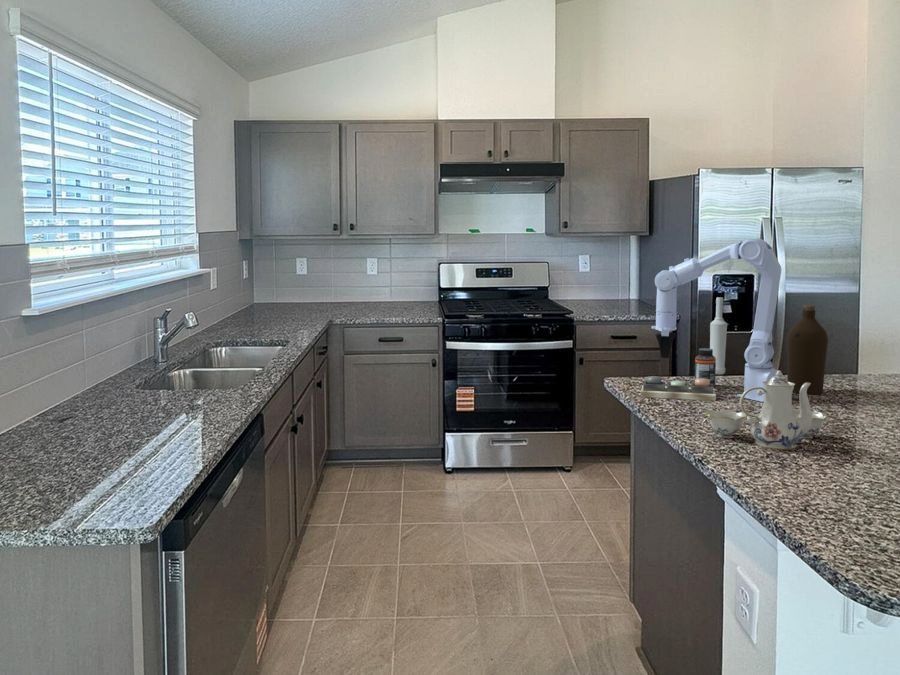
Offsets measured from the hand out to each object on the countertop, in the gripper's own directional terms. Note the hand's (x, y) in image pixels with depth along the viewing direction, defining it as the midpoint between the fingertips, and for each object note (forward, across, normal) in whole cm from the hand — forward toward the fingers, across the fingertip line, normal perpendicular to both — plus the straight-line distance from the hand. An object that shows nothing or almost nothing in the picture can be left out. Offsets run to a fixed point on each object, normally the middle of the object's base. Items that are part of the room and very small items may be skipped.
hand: (664, 357), depth 227 cm
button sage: (+8, +9, +4) cm, 12 cm away
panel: (+9, +9, +4) cm, 13 cm away
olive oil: (+10, -6, +39) cm, 41 cm away
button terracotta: (+6, +9, +10) cm, 15 cm away
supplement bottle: (+10, -8, +12) cm, 17 cm away
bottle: (+10, -33, +16) cm, 38 cm away
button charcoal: (+6, +9, -3) cm, 11 cm away
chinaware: (+10, +54, +24) cm, 60 cm away
